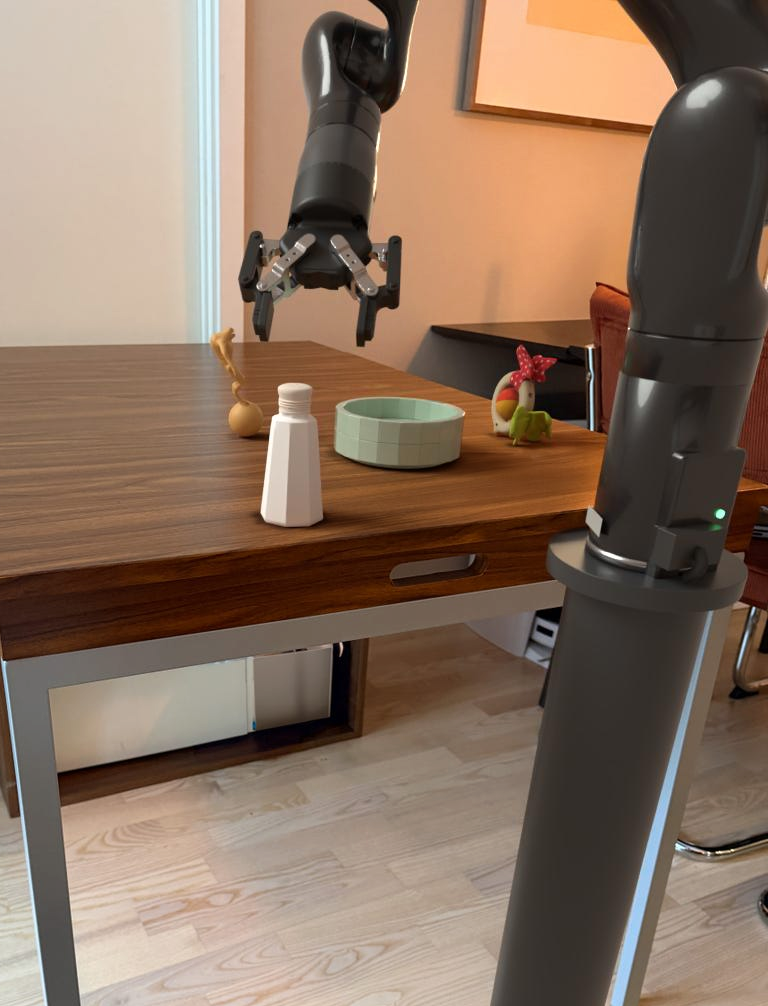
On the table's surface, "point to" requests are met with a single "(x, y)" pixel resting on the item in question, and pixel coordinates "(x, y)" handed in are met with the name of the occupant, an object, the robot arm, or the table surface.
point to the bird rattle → (521, 400)
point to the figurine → (236, 387)
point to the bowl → (398, 431)
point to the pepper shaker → (293, 462)
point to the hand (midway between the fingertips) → (311, 338)
